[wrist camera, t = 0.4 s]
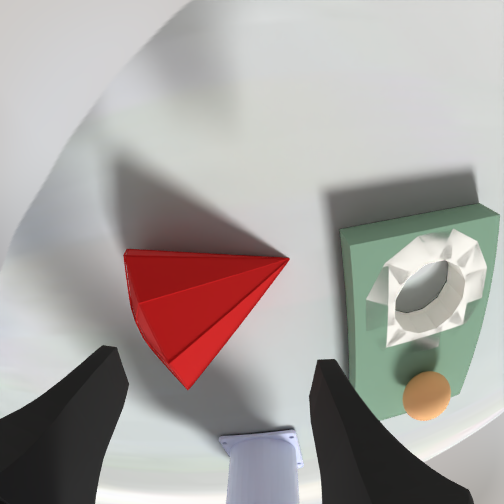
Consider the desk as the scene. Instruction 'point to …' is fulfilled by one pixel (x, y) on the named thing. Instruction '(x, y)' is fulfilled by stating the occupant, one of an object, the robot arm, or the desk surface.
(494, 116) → the desk surface
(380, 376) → the green flat board
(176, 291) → the gemstone
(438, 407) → the ball
